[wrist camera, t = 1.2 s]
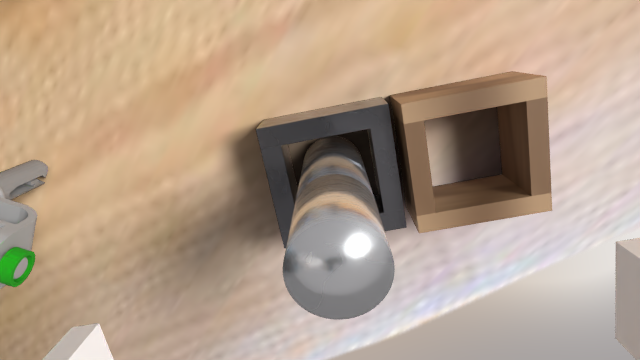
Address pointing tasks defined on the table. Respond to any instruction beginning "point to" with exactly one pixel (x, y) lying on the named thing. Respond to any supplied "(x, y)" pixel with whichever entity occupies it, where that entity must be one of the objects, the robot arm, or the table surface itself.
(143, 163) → the table surface
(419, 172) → the open square brown box
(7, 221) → the mechanical component
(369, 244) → the dome-ended metal rod
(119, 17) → the table surface
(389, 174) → the socket
